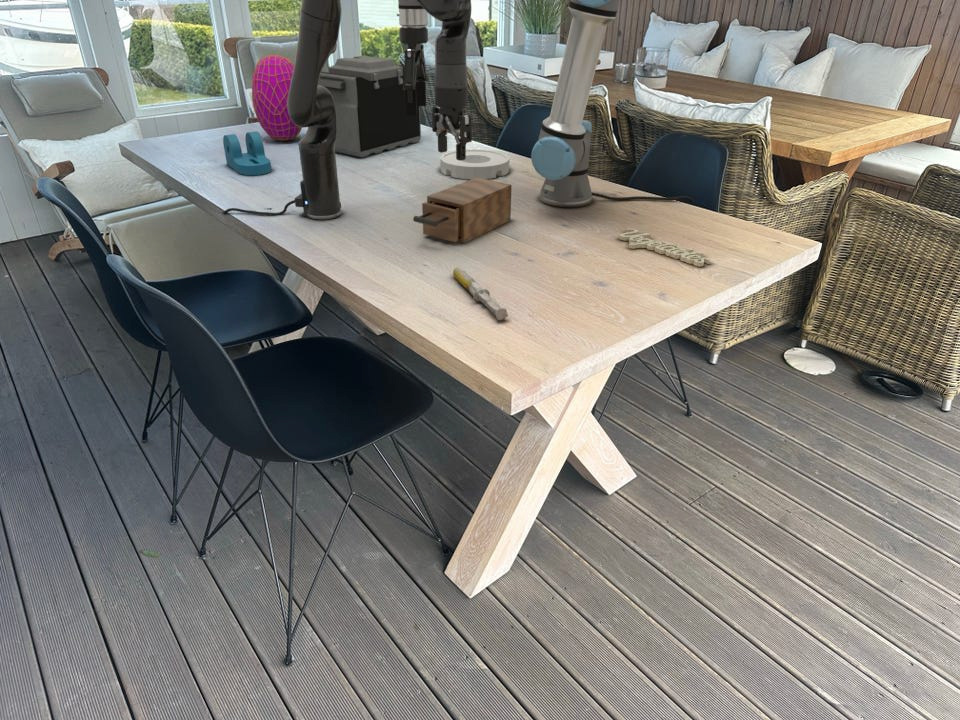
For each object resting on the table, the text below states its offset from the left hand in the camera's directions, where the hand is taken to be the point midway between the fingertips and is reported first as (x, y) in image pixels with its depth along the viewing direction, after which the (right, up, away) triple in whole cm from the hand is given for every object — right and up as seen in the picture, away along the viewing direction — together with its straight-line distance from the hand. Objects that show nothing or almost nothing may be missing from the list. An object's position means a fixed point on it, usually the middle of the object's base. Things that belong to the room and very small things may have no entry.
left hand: (451, 155), depth 165 cm
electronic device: (-34, +31, +93) cm, 104 cm away
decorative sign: (+51, -22, +5) cm, 56 cm away
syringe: (+7, -36, -20) cm, 42 cm away
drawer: (+1, -15, +13) cm, 20 cm away
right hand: (-11, +21, +28) cm, 37 cm away
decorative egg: (-69, +36, +100) cm, 126 cm away
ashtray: (+5, +15, +66) cm, 68 cm away
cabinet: (+4, -14, +17) cm, 23 cm away
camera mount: (-70, +15, +64) cm, 96 cm away
